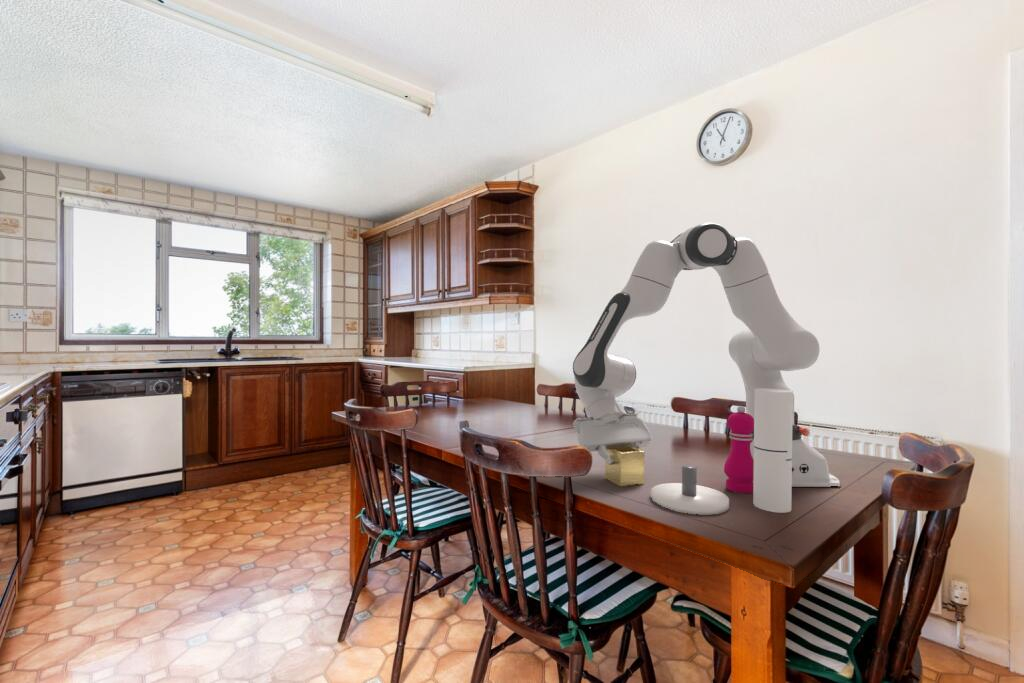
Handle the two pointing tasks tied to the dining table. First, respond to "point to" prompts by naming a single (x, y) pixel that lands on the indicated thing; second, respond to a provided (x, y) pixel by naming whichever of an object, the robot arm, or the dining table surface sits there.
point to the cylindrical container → (773, 449)
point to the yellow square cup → (625, 466)
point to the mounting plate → (690, 503)
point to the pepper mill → (740, 453)
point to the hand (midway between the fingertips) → (626, 462)
